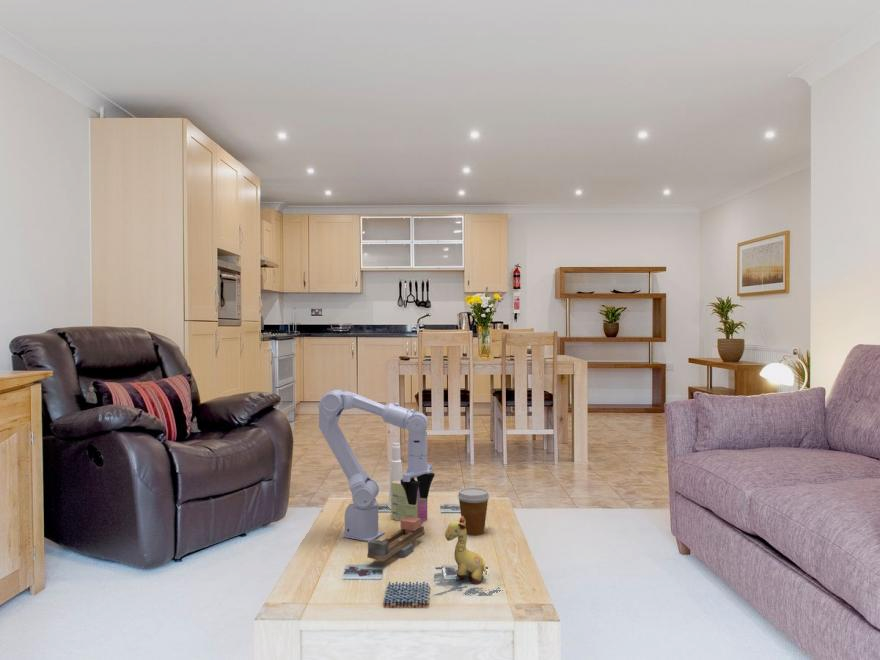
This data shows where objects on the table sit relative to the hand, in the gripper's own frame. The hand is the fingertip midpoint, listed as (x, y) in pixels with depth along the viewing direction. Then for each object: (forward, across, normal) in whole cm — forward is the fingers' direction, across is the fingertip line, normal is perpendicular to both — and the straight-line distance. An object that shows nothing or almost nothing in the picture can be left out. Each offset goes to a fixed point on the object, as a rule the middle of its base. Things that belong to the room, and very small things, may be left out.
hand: (418, 501), depth 175 cm
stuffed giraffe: (+11, -22, -26) cm, 36 cm away
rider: (+7, -6, -1) cm, 9 cm away
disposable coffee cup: (+11, +11, -13) cm, 20 cm away
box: (+11, +13, +10) cm, 20 cm away
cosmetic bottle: (+11, +22, +20) cm, 32 cm away
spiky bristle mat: (+11, -36, -17) cm, 42 cm away
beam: (+10, -14, -1) cm, 17 cm away
